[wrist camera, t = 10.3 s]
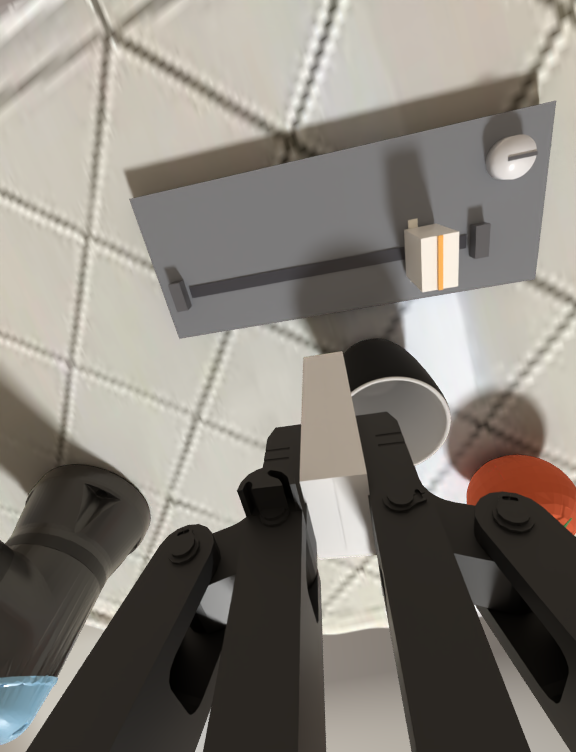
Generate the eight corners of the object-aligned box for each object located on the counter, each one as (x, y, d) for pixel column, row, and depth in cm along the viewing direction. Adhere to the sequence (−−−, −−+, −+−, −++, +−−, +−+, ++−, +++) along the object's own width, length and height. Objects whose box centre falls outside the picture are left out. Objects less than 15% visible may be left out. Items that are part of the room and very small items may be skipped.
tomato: (435, 482, 43) (466, 559, 34) (497, 421, 39) (552, 492, 30) (502, 513, 45) (548, 594, 36) (569, 459, 40) (640, 536, 32)
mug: (319, 335, 35) (322, 387, 26) (414, 317, 34) (451, 366, 25) (339, 433, 41) (346, 504, 32) (421, 421, 39) (453, 492, 30)
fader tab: (406, 275, 30) (423, 293, 25) (404, 229, 28) (421, 239, 24) (436, 270, 29) (459, 286, 25) (436, 223, 28) (460, 231, 23)
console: (185, 330, 36) (173, 345, 33) (139, 198, 30) (119, 200, 27) (522, 273, 31) (546, 284, 28) (539, 105, 26) (572, 95, 23)
